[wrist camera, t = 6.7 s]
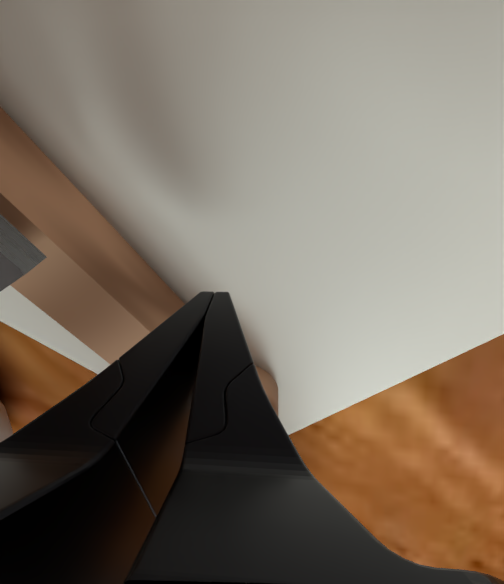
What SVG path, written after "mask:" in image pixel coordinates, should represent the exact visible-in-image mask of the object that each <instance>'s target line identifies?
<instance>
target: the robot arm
mask: <svg viewBox="0 0 504 584" xmlns="http://www.w3.org/2000/svg"><path fill="white" fill-rule="evenodd" d="M0 584H504V581H502V580H500V579H498V578H496V577H493V576H491V575H488V574H484V573H480V572H475V571H467V570H459V569H446V568H434V567H429V566H424V565H419V564H417V563H414V562H412V561H409V560H407V559H404V558H402V557H401V556H399V555H397V554H396V553H394V552H392V551H391V550H389V549H388V548H387V547H385V546H384V545H383V544H382V543H381V542H380V541H378V540H377V539H376V538H375V537H374V536H373V535H372V534H371V533H370V532H369V531H368V530H367V529H366V528H365V527H364V526H363V525H362V524H361V523H360V522H359V521H358V520H357V519H356V518H355V517H354V516H353V515H352V514H351V513H350V512H349V511H348V510H347V509H346V508H345V507H344V506H343V505H342V504H341V503H340V502H339V501H338V500H337V499H336V498H335V497H334V496H333V495H332V494H331V493H330V492H329V491H328V490H327V489H325V488H324V487H323V486H322V485H321V484H320V483H319V482H318V481H317V479H316V478H315V477H314V476H313V475H312V474H311V472H310V471H309V469H308V468H307V467H306V465H305V463H304V462H303V460H302V459H301V457H300V455H299V454H298V452H297V450H296V448H295V447H294V445H293V443H292V441H291V439H290V438H289V436H288V434H287V432H286V430H285V428H284V427H283V425H282V423H281V421H280V419H279V418H278V416H277V414H276V412H275V410H274V408H273V407H272V405H271V403H270V401H269V399H268V396H267V394H266V392H265V390H264V388H263V385H262V383H261V380H260V378H259V376H258V373H257V370H256V367H255V365H254V362H253V359H252V356H251V353H250V350H249V348H248V345H247V342H246V339H245V336H244V333H243V330H242V328H241V325H240V322H239V319H238V316H237V313H236V310H235V308H234V305H233V302H232V299H231V296H230V293H229V292H215V293H214V292H207V291H202V292H200V293H198V294H197V295H196V296H195V297H193V298H192V299H191V300H190V301H188V302H187V303H186V304H185V305H184V306H182V307H181V308H180V309H179V310H177V311H176V312H175V313H174V314H172V315H171V316H170V317H169V318H168V319H166V320H165V321H164V322H163V323H161V324H160V325H159V326H158V327H156V328H155V329H154V330H153V331H151V332H150V333H149V334H148V335H147V336H145V337H144V338H143V339H142V340H140V341H139V342H138V343H137V344H135V345H134V346H133V347H132V348H130V349H129V350H128V351H127V352H126V353H124V354H123V355H122V356H121V357H119V360H116V361H114V362H113V363H112V364H111V365H109V366H108V367H107V368H106V369H104V370H103V371H102V372H100V373H99V374H98V375H97V376H95V377H94V378H93V379H91V380H90V381H89V382H88V383H86V384H85V385H83V386H82V387H81V388H79V389H78V390H76V391H75V392H74V393H72V394H71V395H69V396H68V397H67V398H65V399H64V400H62V401H61V402H59V403H58V404H56V405H55V406H53V407H52V408H51V409H49V410H48V411H46V412H45V413H43V414H42V415H40V416H39V417H37V418H36V419H35V420H33V421H32V422H30V423H29V424H27V425H26V426H24V427H23V428H21V429H20V430H19V431H17V432H16V433H14V434H13V435H11V436H10V437H8V438H6V439H5V440H3V441H2V442H0Z"/></svg>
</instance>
